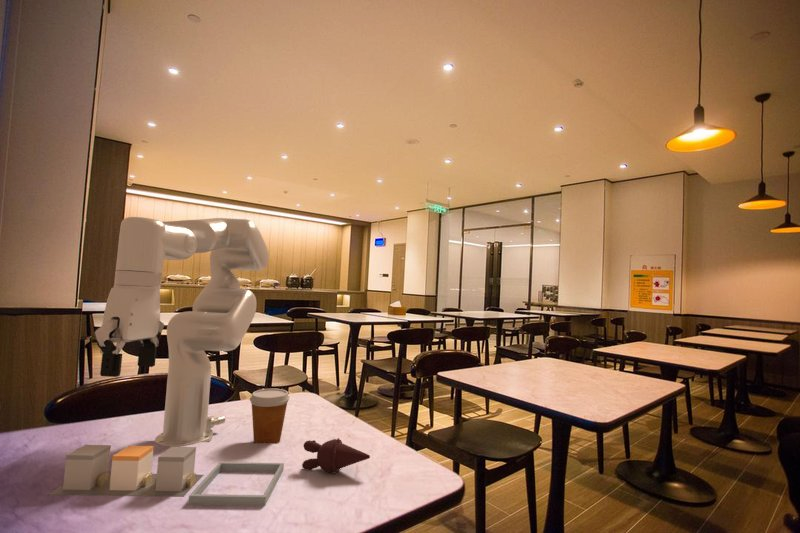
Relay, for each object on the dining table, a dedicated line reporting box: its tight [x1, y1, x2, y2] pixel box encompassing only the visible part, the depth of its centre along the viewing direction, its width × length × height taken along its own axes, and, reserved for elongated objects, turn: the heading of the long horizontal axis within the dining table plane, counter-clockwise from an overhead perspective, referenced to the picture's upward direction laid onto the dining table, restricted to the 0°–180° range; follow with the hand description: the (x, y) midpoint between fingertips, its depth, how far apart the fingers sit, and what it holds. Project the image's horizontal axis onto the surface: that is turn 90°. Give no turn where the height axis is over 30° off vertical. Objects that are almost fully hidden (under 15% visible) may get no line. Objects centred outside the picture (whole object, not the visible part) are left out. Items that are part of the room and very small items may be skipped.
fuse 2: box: [155, 446, 197, 491], centre depth 72 cm, size 5×5×6 cm
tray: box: [187, 461, 285, 507], centre depth 72 cm, size 13×13×2 cm
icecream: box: [301, 437, 371, 474], centre depth 82 cm, size 7×7×15 cm
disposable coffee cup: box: [249, 388, 291, 445], centre depth 96 cm, size 10×10×12 cm
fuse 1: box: [62, 444, 112, 490], centre depth 71 cm, size 5×5×6 cm
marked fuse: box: [110, 445, 155, 491], centre depth 71 cm, size 5×5×6 cm
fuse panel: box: [47, 471, 204, 498], centre depth 71 cm, size 8×23×3 cm, turn 94°
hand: (129, 370), depth 73 cm, fingers open, 9 cm apart
